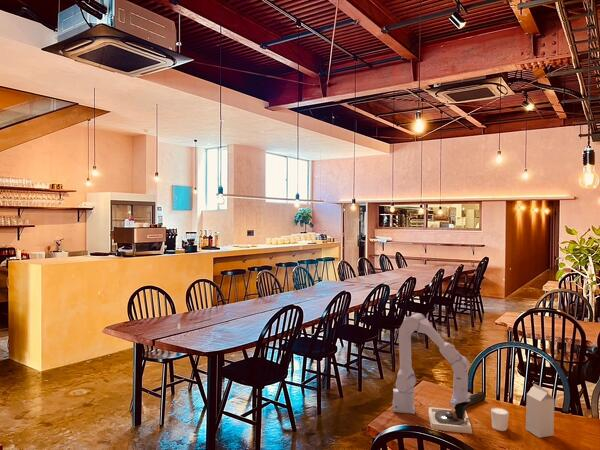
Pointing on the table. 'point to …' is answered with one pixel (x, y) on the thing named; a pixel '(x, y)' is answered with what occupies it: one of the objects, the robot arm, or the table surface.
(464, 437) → the table surface
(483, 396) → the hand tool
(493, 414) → the white cylinder
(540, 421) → the milk carton
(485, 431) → the table surface
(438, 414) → the dial
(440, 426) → the dial plate
